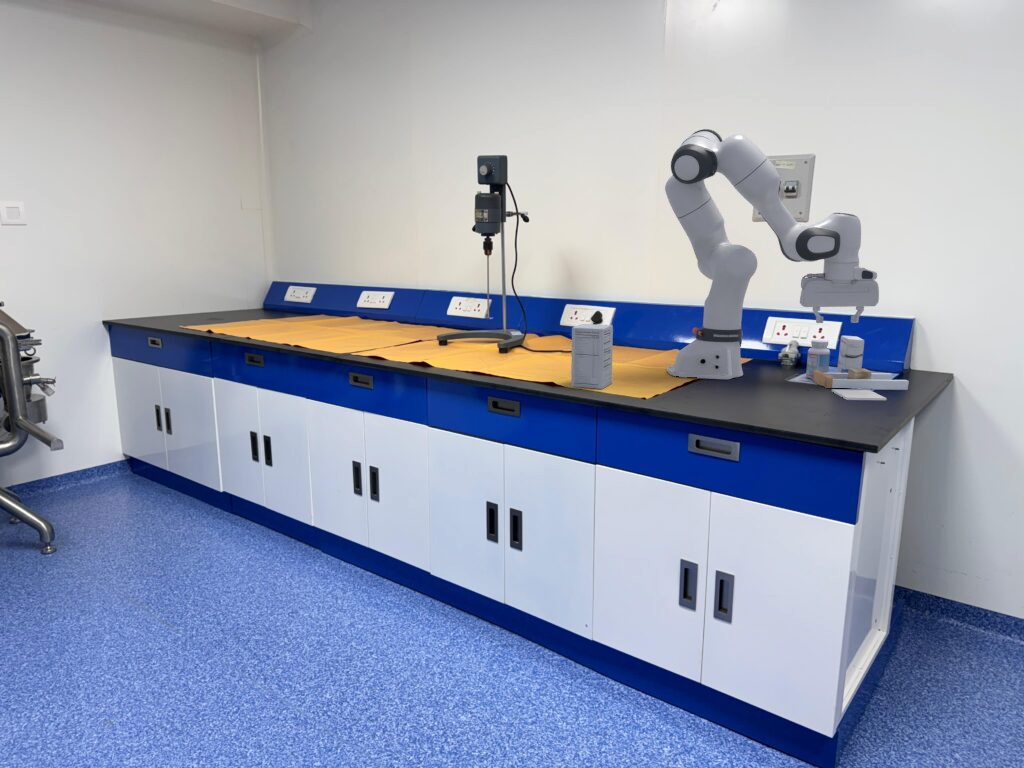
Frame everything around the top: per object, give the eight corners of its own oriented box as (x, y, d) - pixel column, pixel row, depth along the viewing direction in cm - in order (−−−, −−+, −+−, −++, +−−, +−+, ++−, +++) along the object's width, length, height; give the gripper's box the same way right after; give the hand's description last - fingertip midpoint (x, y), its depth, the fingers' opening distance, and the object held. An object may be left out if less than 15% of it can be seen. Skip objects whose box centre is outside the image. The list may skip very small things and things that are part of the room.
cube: (853, 387, 197) (855, 371, 196) (846, 383, 201) (848, 368, 200) (869, 387, 197) (871, 371, 196) (862, 384, 201) (864, 368, 200)
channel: (826, 388, 194) (827, 377, 194) (811, 380, 205) (812, 369, 204) (907, 389, 193) (909, 378, 192) (888, 381, 204) (890, 371, 203)
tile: (846, 399, 181) (846, 397, 181) (831, 391, 191) (831, 389, 191) (886, 400, 181) (886, 398, 180) (868, 392, 190) (869, 389, 190)
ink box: (861, 378, 208) (865, 339, 206) (843, 378, 209) (847, 339, 207) (853, 373, 216) (857, 335, 214) (836, 372, 217) (840, 335, 215)
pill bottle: (826, 376, 211) (830, 339, 209) (828, 380, 205) (832, 342, 203) (805, 375, 213) (808, 338, 211) (806, 379, 207) (809, 341, 205)
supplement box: (612, 383, 200) (614, 324, 197) (602, 389, 192) (604, 328, 188) (580, 380, 204) (582, 323, 200) (569, 386, 196) (571, 326, 192)
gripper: (805, 274, 192) (801, 324, 195) (883, 273, 189) (879, 323, 192) (798, 273, 198) (795, 321, 201) (874, 271, 196) (870, 321, 199)
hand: (836, 322), depth 197 cm, fingers open, 8 cm apart
